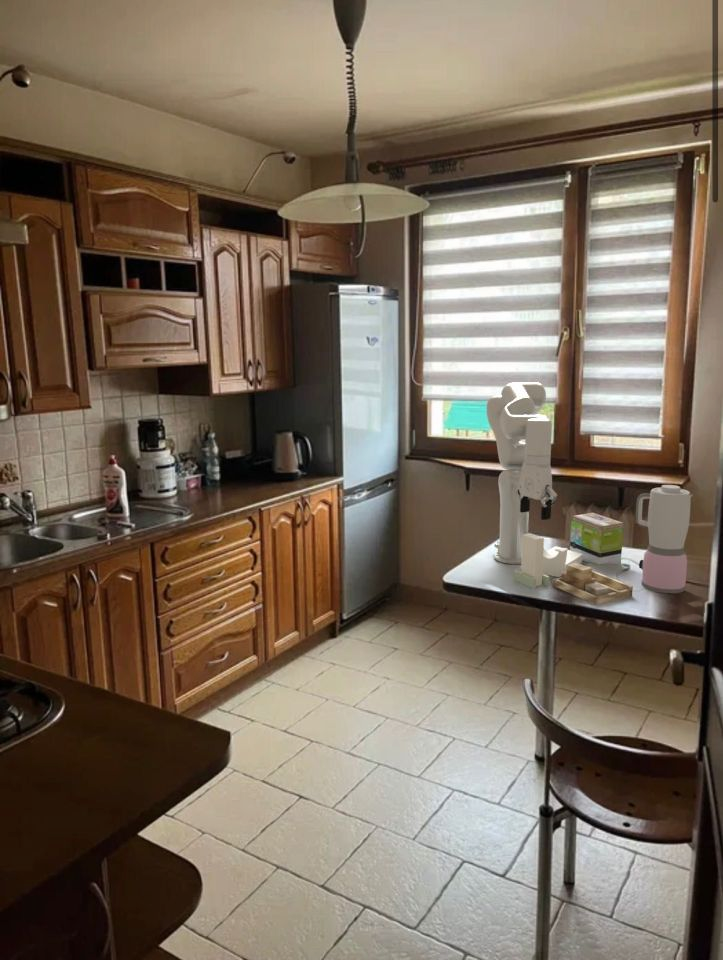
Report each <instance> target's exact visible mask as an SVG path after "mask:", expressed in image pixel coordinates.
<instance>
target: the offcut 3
mask: <svg viewBox="0 0 723 960" xmlns="http://www.w3.org/2000/svg"><path fill="white" fill-rule="evenodd" d="M585 591H586V592H588V593H590V594H592V595H595V596H600V595H604V594H608V588H607V587H605V586H603V585H601V584H599V583H591V584H586V586H585Z"/></svg>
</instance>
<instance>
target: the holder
mask: <svg viewBox="0 0 723 960" xmlns="http://www.w3.org/2000/svg"><path fill="white" fill-rule="evenodd" d="M513 577H514V578H513V580H514V581H516V582H518V583H520V584H522V585H524V586H526V587H528V588H529V589H530V588H531V589H532V590H533V589H537V586H536V579H534V578H532V577H530V576H528V575H526V574H523V573H521V571H519V570H514V571H513ZM543 585H544V586H545V587H549V586H550V575H547V574H543V573H542V586H543Z"/></svg>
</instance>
